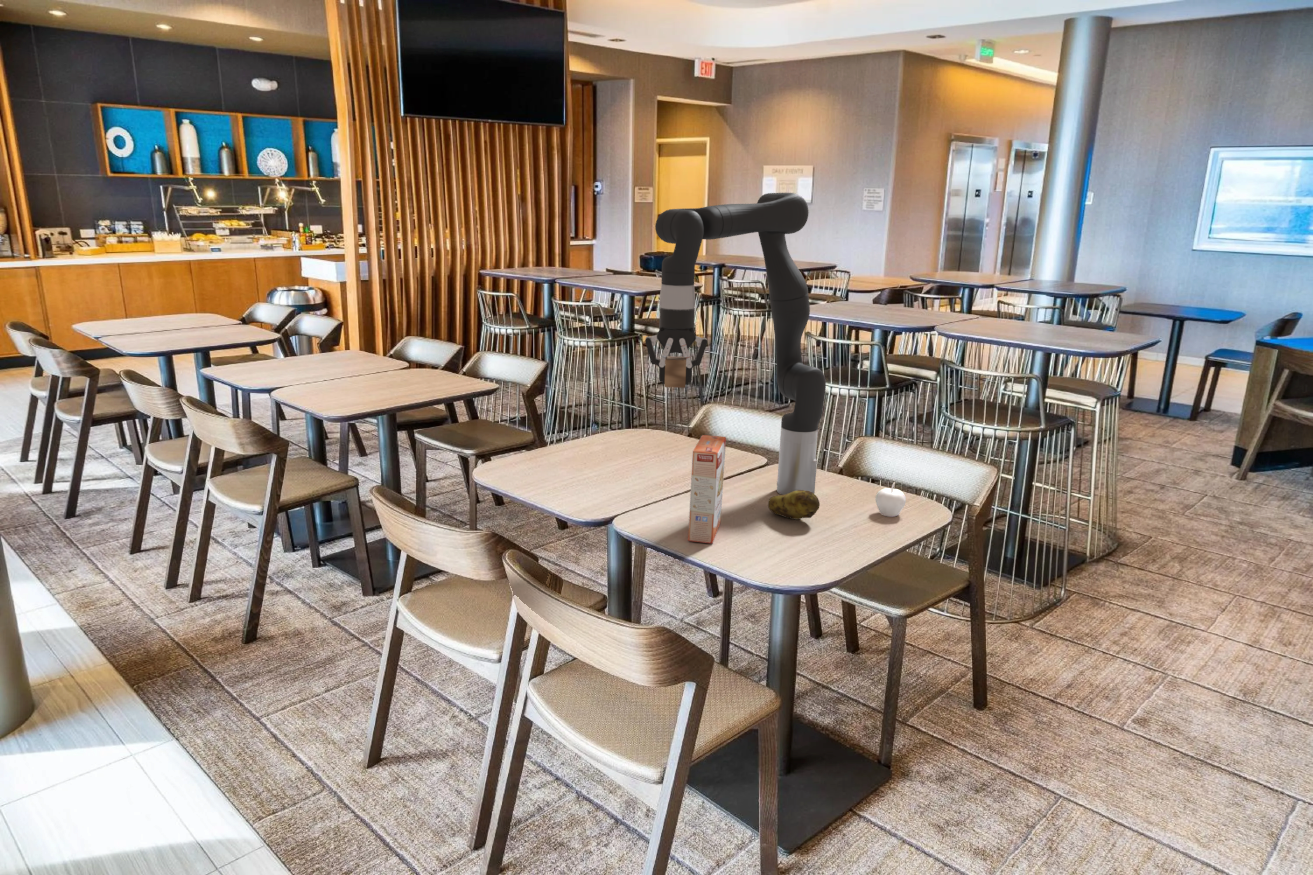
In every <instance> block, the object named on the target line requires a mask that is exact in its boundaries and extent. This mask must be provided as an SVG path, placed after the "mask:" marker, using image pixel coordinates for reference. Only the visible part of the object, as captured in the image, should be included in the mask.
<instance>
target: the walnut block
mask: <svg viewBox="0 0 1313 875" xmlns="http://www.w3.org/2000/svg"><path fill="white" fill-rule="evenodd" d="M686 367H687V365H686V360H685V359H684V356H673V355H672V356H669V355H668V357H667V359H665V384H664V388H673V389H674V388H679V389H680V388H682V389H683V388H684V389H685V388H686V385H685V381H686Z"/></svg>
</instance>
